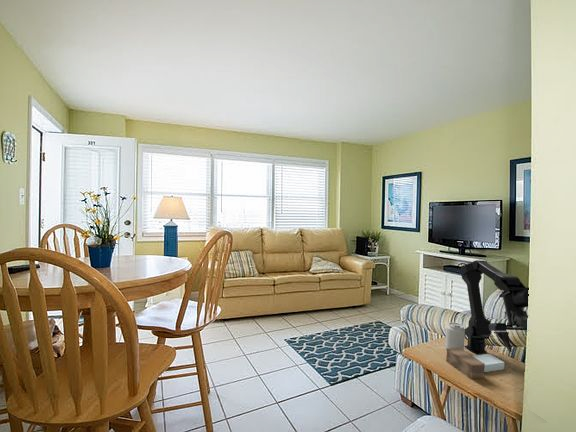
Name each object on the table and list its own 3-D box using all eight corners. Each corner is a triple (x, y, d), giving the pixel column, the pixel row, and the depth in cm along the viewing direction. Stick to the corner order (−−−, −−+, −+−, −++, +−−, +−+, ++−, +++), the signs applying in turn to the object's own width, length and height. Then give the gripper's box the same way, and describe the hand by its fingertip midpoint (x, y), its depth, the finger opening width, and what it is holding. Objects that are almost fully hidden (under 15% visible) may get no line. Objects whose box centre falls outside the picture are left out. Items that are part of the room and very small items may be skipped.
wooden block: (446, 361, 131) (447, 348, 130) (457, 359, 132) (458, 347, 132) (471, 379, 118) (472, 365, 118) (483, 377, 120) (484, 363, 119)
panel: (466, 363, 130) (466, 356, 130) (488, 360, 133) (489, 353, 132) (480, 372, 123) (481, 365, 123) (504, 369, 126) (504, 362, 126)
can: (455, 355, 136) (457, 329, 135) (441, 347, 143) (443, 322, 142) (467, 352, 139) (469, 326, 138) (452, 344, 146) (454, 320, 145)
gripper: (498, 306, 112) (507, 352, 106) (554, 307, 109) (567, 355, 104) (484, 308, 122) (492, 351, 117) (536, 309, 119) (547, 353, 114)
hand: (524, 352), depth 112 cm, fingers open, 9 cm apart
